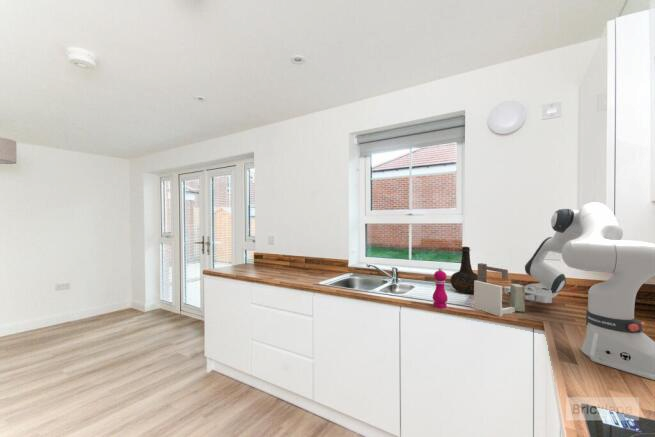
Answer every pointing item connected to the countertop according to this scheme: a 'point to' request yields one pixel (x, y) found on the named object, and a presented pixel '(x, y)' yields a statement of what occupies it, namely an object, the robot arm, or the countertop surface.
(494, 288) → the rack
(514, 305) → the skincare box
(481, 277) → the grey brown arch frame
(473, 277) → the glass bottle
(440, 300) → the pepper mill
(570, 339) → the countertop surface
